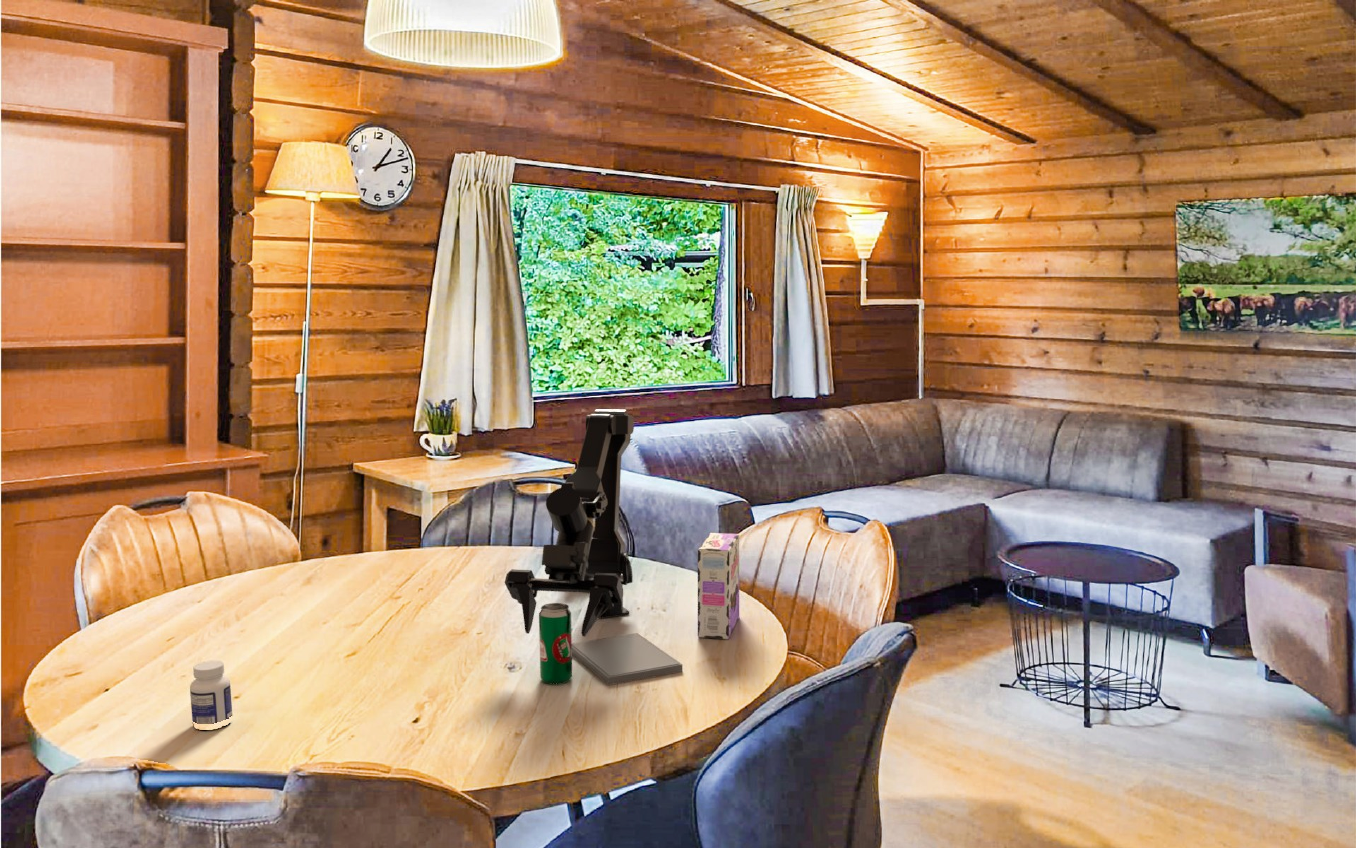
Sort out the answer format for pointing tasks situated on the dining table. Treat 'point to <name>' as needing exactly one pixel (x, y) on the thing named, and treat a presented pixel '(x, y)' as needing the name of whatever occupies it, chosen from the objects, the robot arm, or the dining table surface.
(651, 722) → the dining table surface
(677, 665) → the slate board
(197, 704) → the pill bottle
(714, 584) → the candy box
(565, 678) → the soda can
